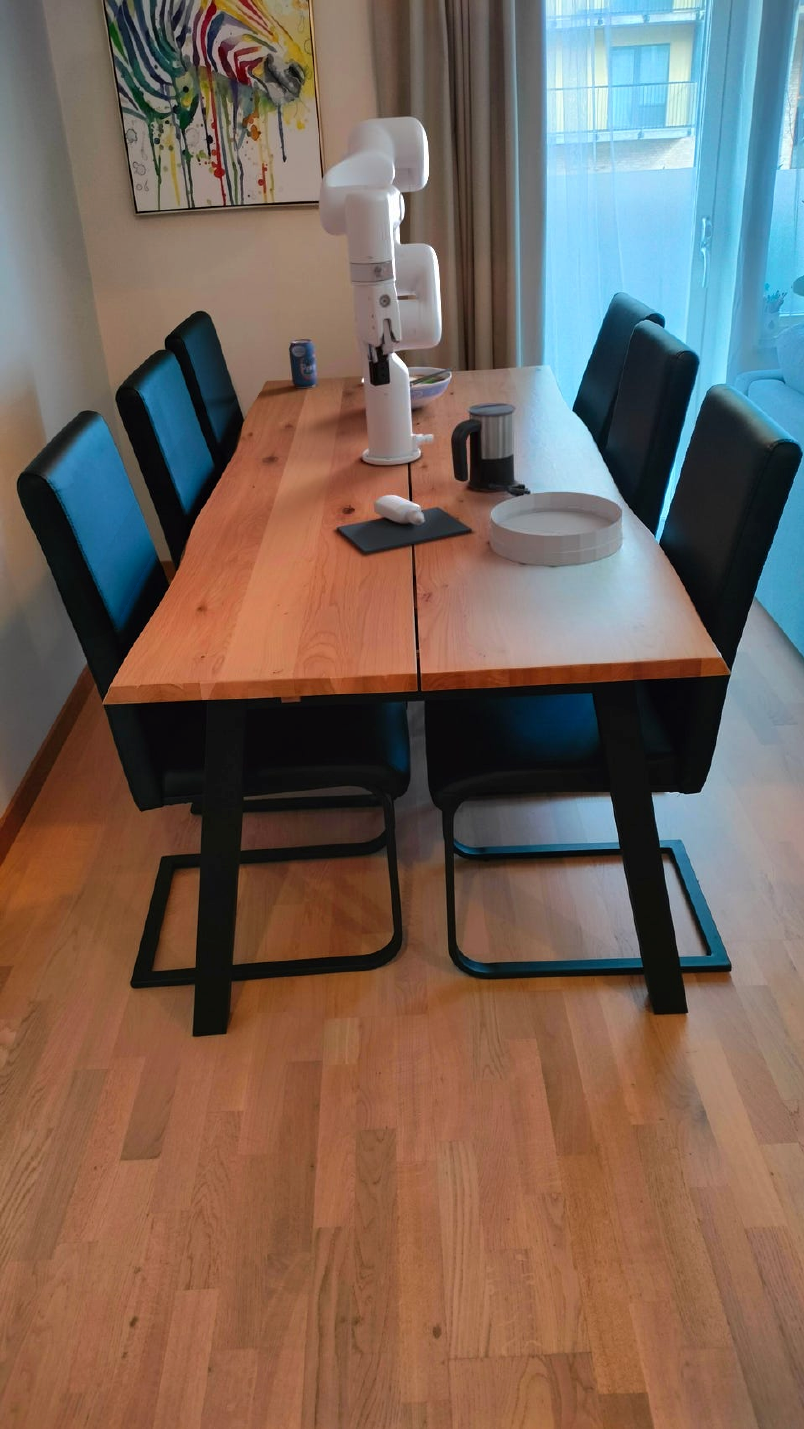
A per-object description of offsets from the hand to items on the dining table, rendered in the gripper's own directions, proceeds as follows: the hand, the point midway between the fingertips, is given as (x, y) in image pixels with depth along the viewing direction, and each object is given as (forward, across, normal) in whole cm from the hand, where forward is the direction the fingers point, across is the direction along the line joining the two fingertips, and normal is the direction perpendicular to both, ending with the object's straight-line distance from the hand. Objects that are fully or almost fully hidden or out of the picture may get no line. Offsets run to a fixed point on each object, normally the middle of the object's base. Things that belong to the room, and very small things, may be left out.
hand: (380, 383), depth 182 cm
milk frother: (+23, -3, -22) cm, 32 cm away
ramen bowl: (+25, +69, -34) cm, 81 cm away
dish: (+22, -32, -17) cm, 43 cm away
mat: (+22, -13, +3) cm, 26 cm away
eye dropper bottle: (+20, -4, +2) cm, 21 cm away
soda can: (+26, +109, -20) cm, 114 cm away
